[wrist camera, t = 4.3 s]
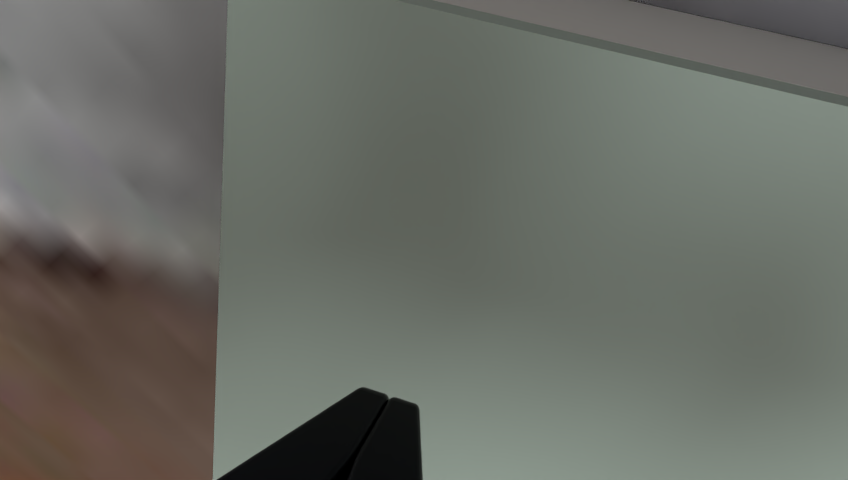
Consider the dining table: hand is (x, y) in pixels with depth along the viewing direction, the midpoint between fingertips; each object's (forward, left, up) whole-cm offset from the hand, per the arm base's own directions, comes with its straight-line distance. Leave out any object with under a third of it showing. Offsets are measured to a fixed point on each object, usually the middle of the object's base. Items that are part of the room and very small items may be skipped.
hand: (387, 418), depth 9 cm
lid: (-3, +4, -6) cm, 7 cm away
